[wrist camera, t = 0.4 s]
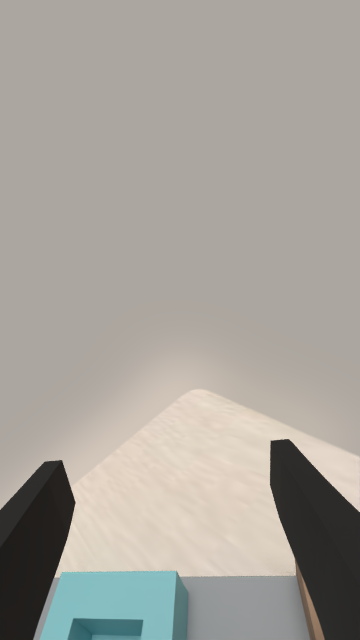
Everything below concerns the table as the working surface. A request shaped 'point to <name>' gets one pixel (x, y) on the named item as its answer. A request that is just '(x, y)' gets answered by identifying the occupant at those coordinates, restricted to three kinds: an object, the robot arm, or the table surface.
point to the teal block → (118, 607)
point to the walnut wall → (309, 609)
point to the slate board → (235, 608)
